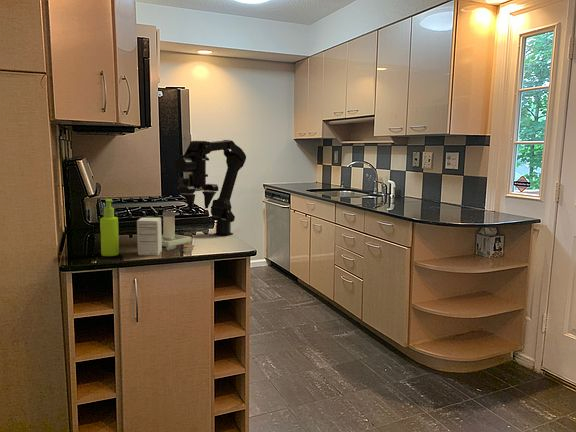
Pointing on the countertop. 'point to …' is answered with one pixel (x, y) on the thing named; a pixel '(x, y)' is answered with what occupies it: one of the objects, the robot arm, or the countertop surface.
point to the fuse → (169, 225)
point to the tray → (176, 240)
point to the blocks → (189, 248)
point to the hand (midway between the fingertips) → (198, 209)
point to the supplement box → (149, 236)
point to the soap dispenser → (109, 231)
